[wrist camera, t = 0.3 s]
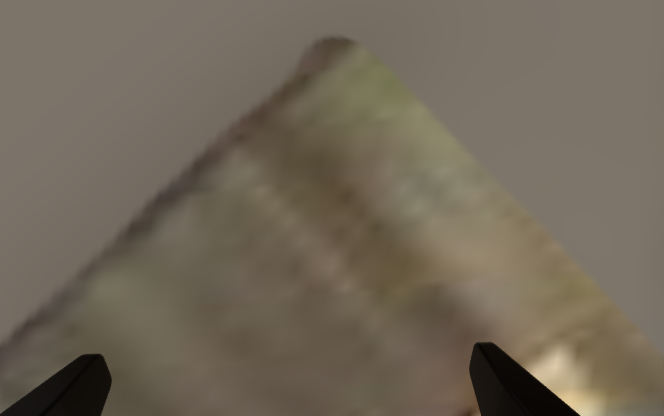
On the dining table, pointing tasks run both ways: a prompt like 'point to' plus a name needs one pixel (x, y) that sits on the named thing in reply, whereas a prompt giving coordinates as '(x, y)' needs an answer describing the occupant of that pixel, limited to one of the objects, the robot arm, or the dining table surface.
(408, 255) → the dining table surface
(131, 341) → the dining table surface
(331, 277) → the dining table surface
